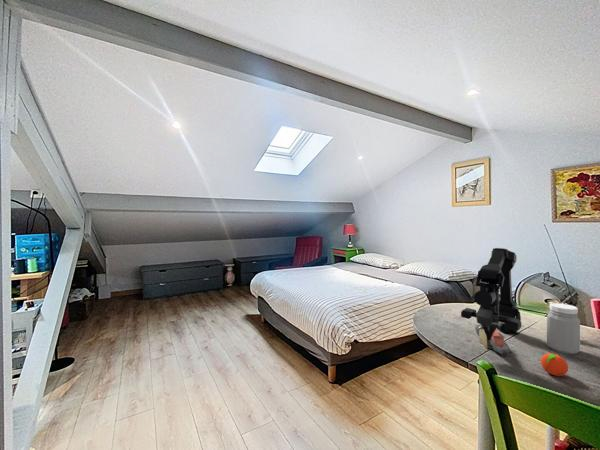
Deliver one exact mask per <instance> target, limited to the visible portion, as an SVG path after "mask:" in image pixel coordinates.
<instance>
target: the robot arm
mask: <svg viewBox="0 0 600 450" xmlns="http://www.w3.org/2000/svg"><path fill="white" fill-rule="evenodd" d="M517 258H518V257H517V254H516V252H514V251H512V250H509V249H507V248H504V247H503V248H502V247H499V248H498V247H494V248H492V250H491V254H490V258H489V260H488V263H487V264H484V265H482V266H481V267H480V269H479V270H478V271H477V275H476V279H475V280H476V281H475V287H479V290H477V291H476V292H475V293H474V295H473V300H474V302H475V303H476V304H477V305H479V308H478V310H476V309H474V308H469V307H466V308H464V309H462V310H461V311H460V317H461V318H463V319H468V320H469V319H471V318H472V317H473V318H476V323H477V324H478V325H482V327H483V329H484V331H485V334H486V336H487V339H488V340H491V338H492V336H493V334H494V332H495V330H498V331H500V332H501V333H502V334H510V335H519V334H520V332H518V331H520V329H521V328H522V321H521V319H522V317H521V312H520V310H519V308H518V305H517V303H516V301H515V300H514V299H513V290H512V287H513V286H512V285H513V284H512V270H513V268H514V266H515V265H516V263H517Z"/></svg>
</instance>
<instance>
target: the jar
mask: <svg viewBox="0 0 600 450" xmlns="http://www.w3.org/2000/svg"><path fill="white" fill-rule="evenodd" d="M549 309H550V310H549V311H548V312H549V313H548V314H547V315H546V345H548V347H549V348H550V349H551V350H554V351H556V352H559V353H562V354H567V355H577V354H578V353H579V352H580V351H581V350H580V349H581V347H580V345H581V320H580V318H579V317H578V316H579V315H578V313H579V308H578V307H577V306H575V305H571V304H567V303H561V302H552V303H551V302H550V303H549Z"/></svg>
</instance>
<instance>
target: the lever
mask: <svg viewBox="0 0 600 450" xmlns="http://www.w3.org/2000/svg"><path fill="white" fill-rule="evenodd" d="M498 332H499V331H498V329H496V330H495V332H494V334H493V336H492V340H493V342H494V344H495V345H496V346H499V347H503V346H504V342H505V337H504V338H503V337H501V336H500V335H499V333H500V332H499V333H498Z"/></svg>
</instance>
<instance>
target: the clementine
mask: <svg viewBox="0 0 600 450" xmlns="http://www.w3.org/2000/svg"><path fill="white" fill-rule="evenodd" d="M540 364H541V366H542V368H543V369H544V371H545V372H547V373H548V374H550V375H553V376H557V377H561V376H564V375H566V374H567V373H568V371H569V366H568V363H567V361H566V360H565V359H564V358H563V357H562V356H560V355H558V354H557V353H550V352H549V353H545V354H544V355H542V356H541V358H540Z"/></svg>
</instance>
